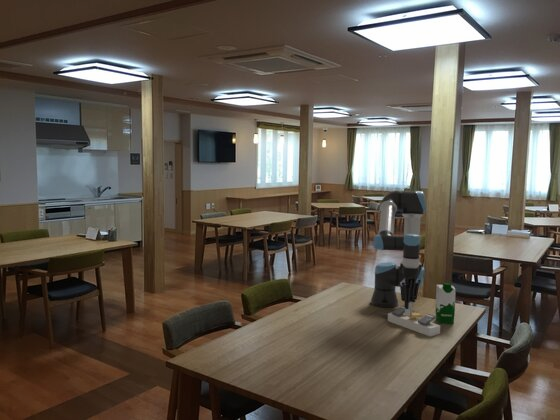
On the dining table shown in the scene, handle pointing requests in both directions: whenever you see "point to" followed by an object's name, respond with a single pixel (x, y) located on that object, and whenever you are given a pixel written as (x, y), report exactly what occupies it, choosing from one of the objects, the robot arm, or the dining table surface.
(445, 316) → the milk carton
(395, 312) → the block
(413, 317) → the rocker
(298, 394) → the dining table surface
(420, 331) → the rocker switch panel
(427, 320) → the plate
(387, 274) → the robot arm
